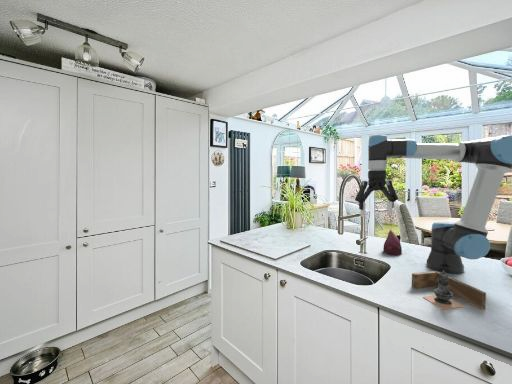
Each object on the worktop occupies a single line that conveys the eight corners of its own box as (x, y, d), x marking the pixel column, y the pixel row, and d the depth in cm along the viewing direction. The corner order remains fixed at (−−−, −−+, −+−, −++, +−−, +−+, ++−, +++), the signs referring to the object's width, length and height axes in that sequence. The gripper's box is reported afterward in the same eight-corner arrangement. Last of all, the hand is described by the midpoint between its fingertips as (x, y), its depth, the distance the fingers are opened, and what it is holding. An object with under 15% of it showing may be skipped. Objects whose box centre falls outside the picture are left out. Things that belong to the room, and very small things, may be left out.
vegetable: (381, 255, 156) (376, 231, 159) (399, 253, 154) (393, 229, 157) (387, 256, 146) (381, 230, 148) (406, 254, 144) (400, 228, 147)
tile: (442, 294, 99) (442, 294, 99) (465, 306, 90) (465, 306, 90) (422, 297, 98) (422, 296, 98) (443, 309, 89) (443, 308, 89)
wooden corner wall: (436, 284, 108) (436, 270, 108) (485, 309, 89) (486, 292, 88) (411, 286, 106) (411, 273, 106) (456, 312, 87) (457, 296, 86)
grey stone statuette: (433, 295, 98) (434, 265, 97) (452, 300, 94) (454, 269, 93) (432, 301, 94) (433, 270, 93) (452, 306, 90) (454, 274, 89)
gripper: (395, 169, 120) (394, 213, 121) (347, 170, 116) (347, 215, 117) (407, 169, 112) (406, 216, 114) (356, 170, 108) (356, 218, 110)
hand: (376, 216), depth 116 cm, fingers open, 13 cm apart
